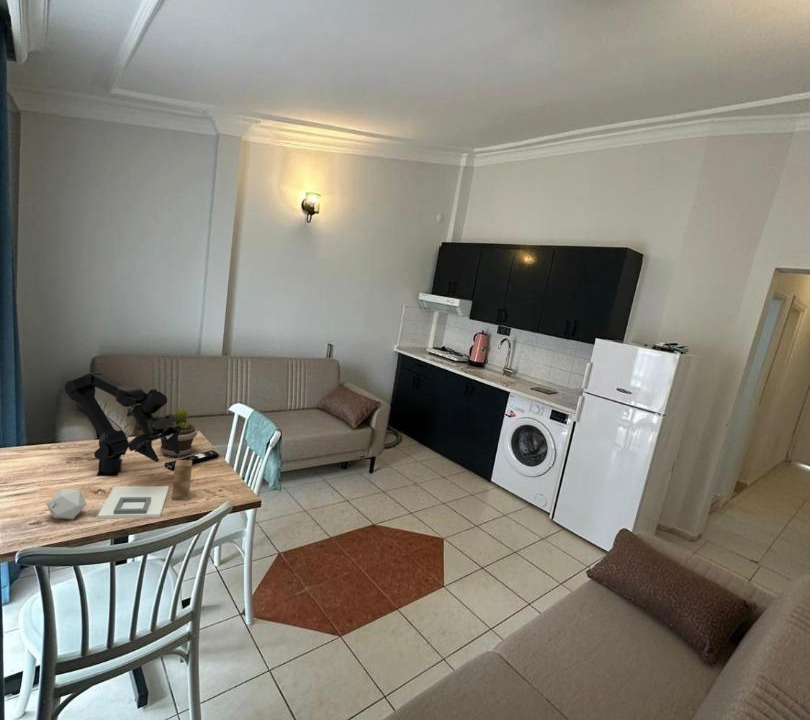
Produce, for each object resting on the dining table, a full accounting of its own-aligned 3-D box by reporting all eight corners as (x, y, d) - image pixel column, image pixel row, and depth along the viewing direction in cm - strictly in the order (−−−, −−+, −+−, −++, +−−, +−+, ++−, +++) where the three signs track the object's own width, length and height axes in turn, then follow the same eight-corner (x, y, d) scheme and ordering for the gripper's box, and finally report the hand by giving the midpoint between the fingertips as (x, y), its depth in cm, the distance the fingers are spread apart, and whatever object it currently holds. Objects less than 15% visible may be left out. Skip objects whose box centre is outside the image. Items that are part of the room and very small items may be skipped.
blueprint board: (97, 518, 140) (97, 511, 139) (113, 489, 158) (114, 483, 158) (159, 517, 146) (160, 510, 145) (168, 489, 164) (169, 483, 164)
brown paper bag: (171, 500, 157) (174, 465, 155) (173, 493, 162) (176, 459, 160) (187, 499, 159) (191, 465, 157) (189, 493, 163) (192, 460, 162)
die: (48, 513, 139) (36, 498, 132) (78, 492, 145) (68, 477, 138) (65, 531, 137) (54, 516, 130) (95, 509, 143) (86, 494, 136)
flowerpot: (189, 461, 189) (193, 415, 186) (149, 458, 187) (153, 410, 184) (199, 449, 203) (204, 405, 200) (163, 445, 201) (166, 401, 198)
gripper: (137, 413, 151) (161, 453, 149) (180, 403, 168) (202, 439, 167) (117, 431, 154) (140, 470, 152) (161, 419, 172) (183, 454, 170)
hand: (168, 457), depth 160 cm, fingers open, 9 cm apart
